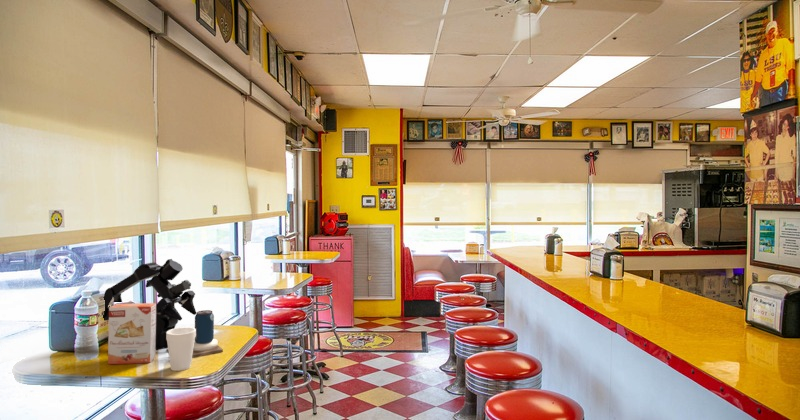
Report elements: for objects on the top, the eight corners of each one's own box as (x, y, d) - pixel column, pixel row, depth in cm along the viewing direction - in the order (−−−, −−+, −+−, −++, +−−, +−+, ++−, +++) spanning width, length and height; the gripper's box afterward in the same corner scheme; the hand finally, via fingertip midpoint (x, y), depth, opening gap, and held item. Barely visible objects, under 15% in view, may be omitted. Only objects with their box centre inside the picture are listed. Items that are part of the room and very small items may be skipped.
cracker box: (107, 365, 157) (107, 306, 157) (114, 359, 163) (115, 303, 163) (150, 363, 160) (150, 305, 160) (156, 357, 166) (156, 302, 166)
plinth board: (178, 360, 163) (178, 352, 163) (168, 349, 176) (168, 341, 176) (222, 351, 174) (222, 344, 174) (210, 341, 186) (210, 334, 186)
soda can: (217, 340, 178) (217, 310, 178) (205, 345, 172) (205, 314, 171) (203, 338, 180) (203, 309, 180) (190, 343, 173) (190, 313, 173)
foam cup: (167, 364, 159) (167, 328, 159) (195, 361, 163) (196, 326, 163) (164, 374, 150) (165, 335, 150) (194, 370, 154) (195, 333, 154)
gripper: (161, 278, 168) (187, 308, 167) (191, 271, 187) (215, 298, 185) (142, 297, 170) (167, 328, 168) (174, 288, 188) (197, 316, 187)
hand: (188, 316), depth 177 cm, fingers open, 9 cm apart
